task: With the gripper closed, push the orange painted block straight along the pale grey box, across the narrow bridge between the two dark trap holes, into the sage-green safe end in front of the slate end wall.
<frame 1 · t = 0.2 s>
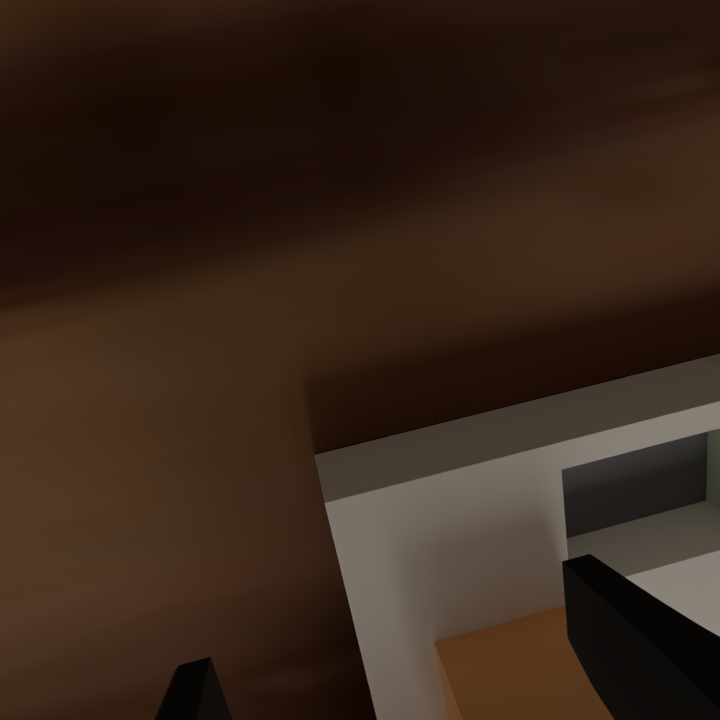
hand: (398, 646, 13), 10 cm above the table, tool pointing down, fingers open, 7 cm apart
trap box: (620, 577, 26), on the table
orange block: (510, 675, 23), point 3 cm above the table, touching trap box
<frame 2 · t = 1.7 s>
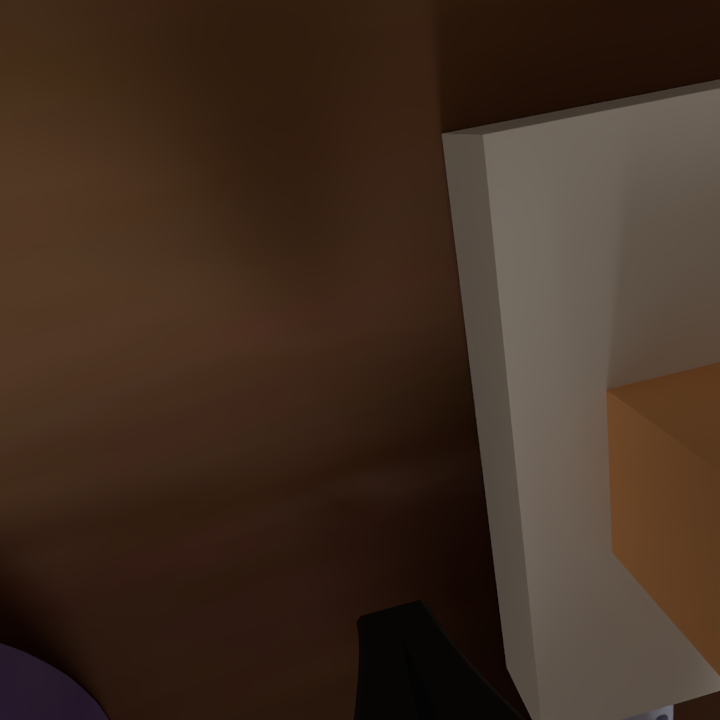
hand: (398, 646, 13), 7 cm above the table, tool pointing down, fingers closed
orange block: (697, 453, 17), point 3 cm above the table, touching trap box
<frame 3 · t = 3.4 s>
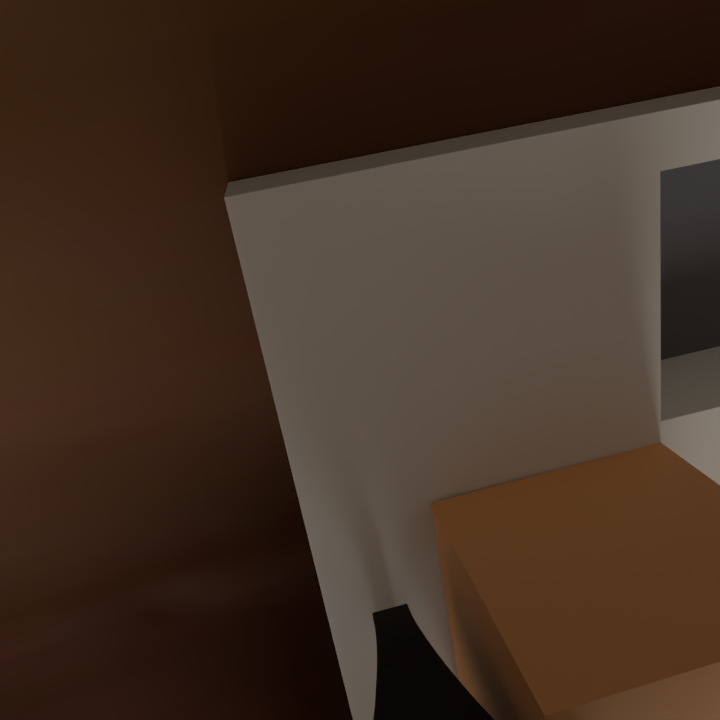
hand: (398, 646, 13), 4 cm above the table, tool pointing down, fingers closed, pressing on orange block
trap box: (713, 442, 17), on the table
orange block: (555, 570, 14), point 3 cm above the table, touching gripper, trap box
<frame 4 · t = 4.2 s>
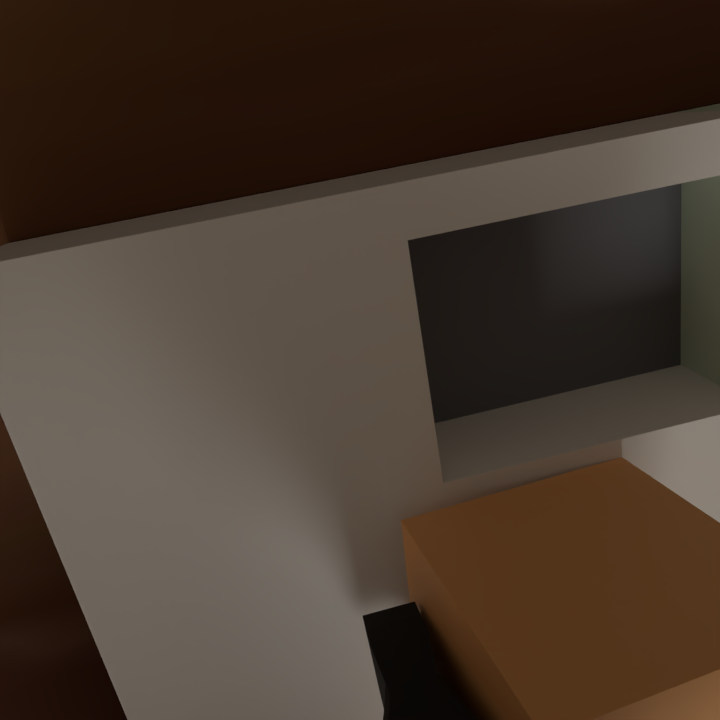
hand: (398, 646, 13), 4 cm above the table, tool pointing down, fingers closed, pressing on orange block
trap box: (550, 491, 17), on the table
orange block: (520, 586, 14), point 3 cm above the table, tilted 7°, touching gripper, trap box
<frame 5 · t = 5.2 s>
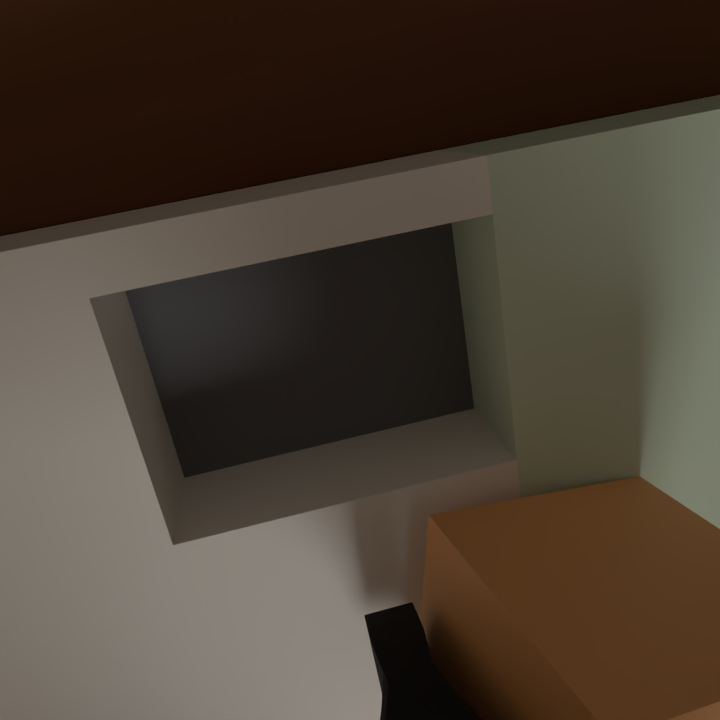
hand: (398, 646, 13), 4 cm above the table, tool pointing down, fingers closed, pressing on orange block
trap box: (352, 536, 17), on the table
orange block: (526, 596, 14), point 3 cm above the table, tilted 10°, touching gripper, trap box
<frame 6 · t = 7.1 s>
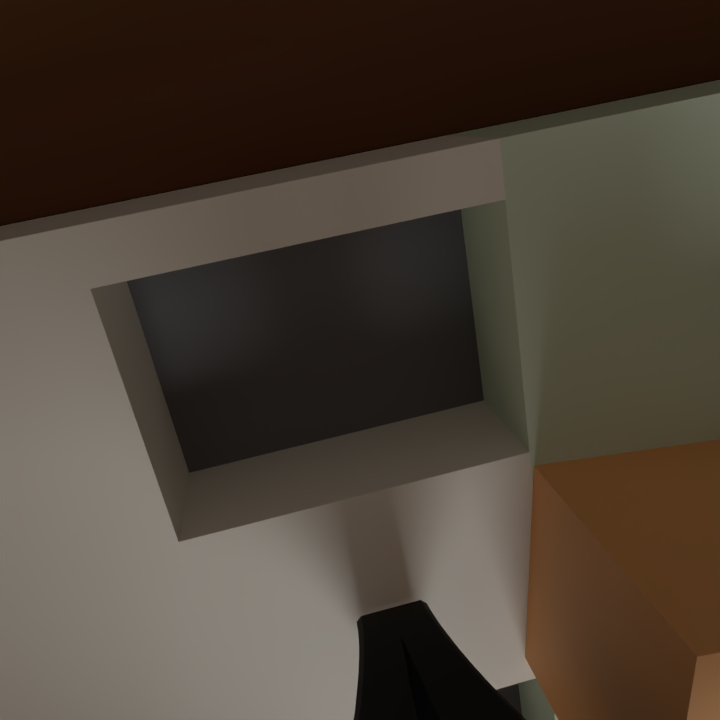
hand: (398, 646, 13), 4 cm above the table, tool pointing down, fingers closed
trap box: (360, 531, 16), on the table
orange block: (636, 550, 14), point 3 cm above the table, touching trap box
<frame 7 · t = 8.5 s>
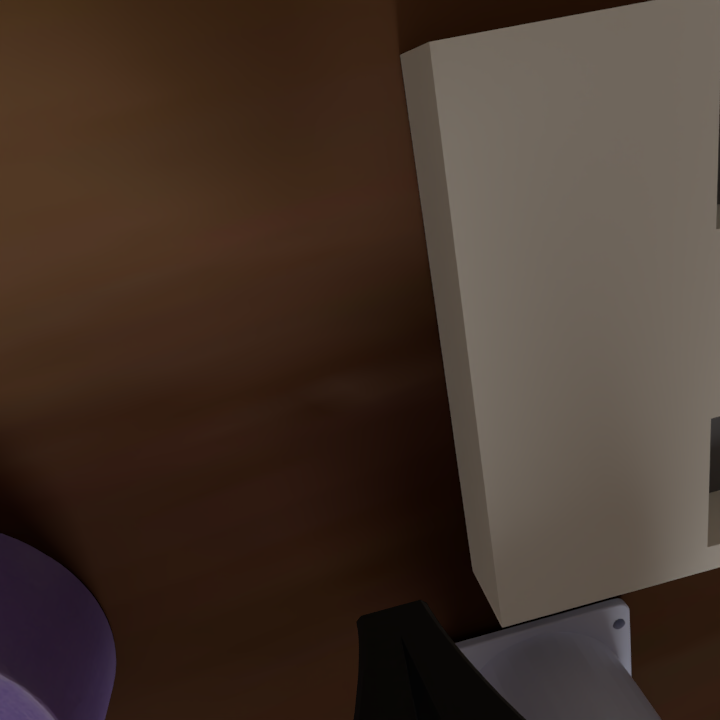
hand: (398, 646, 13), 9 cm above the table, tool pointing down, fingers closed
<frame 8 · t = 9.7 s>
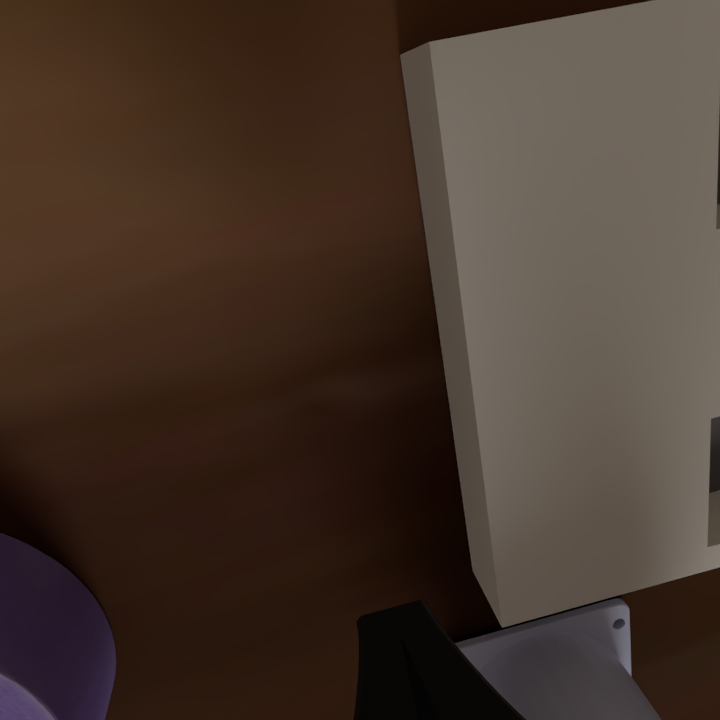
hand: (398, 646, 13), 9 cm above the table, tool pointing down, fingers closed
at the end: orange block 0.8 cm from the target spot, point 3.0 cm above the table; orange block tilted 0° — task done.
